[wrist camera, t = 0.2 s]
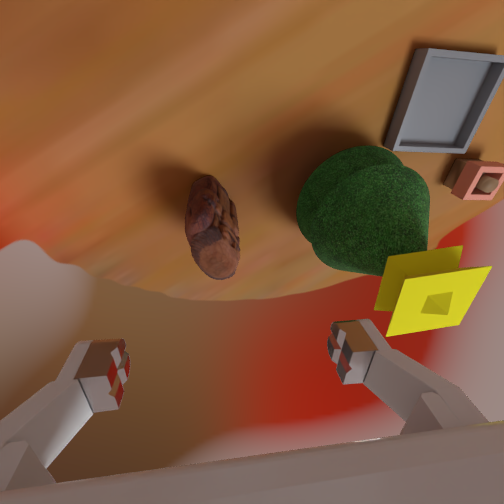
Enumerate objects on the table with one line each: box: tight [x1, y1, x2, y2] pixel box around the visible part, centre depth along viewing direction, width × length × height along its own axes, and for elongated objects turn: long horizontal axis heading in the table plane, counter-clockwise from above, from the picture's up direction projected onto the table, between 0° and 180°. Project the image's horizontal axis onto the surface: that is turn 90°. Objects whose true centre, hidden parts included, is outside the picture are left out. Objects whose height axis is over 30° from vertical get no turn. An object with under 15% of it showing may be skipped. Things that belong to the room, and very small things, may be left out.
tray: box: [383, 48, 504, 154], centre depth 43 cm, size 14×14×3 cm
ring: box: [451, 161, 504, 200], centre depth 49 cm, size 6×6×3 cm
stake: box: [443, 159, 499, 193], centre depth 49 cm, size 5×5×7 cm
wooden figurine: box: [185, 176, 240, 280], centre depth 42 cm, size 12×6×18 cm, turn 26°
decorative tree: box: [296, 146, 492, 337], centre depth 39 cm, size 19×19×30 cm
